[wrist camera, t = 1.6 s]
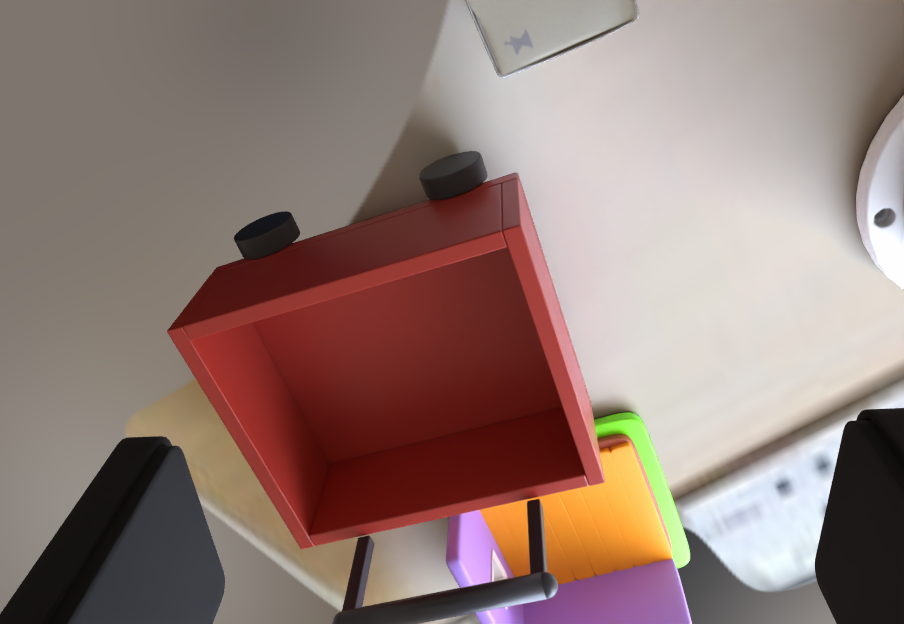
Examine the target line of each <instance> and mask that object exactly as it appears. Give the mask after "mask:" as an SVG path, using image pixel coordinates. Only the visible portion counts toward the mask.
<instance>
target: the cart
mask: <svg viewBox="0 0 904 624" xmlns="http://www.w3.org/2000/svg"><path fill="white" fill-rule="evenodd" d="M419 178H420V181H421V183H422V186H423V188H424V191H425V194H426V196H427V197H428V198H429V199H431V200H427V201H424V202H421V203H418V204H415V205H412V206H409V207H405V208H402V209H399V210H396V211H393V212H390V213H386V214H383V215H380V216H377V217H374V218H371V219H368V220H364V221H361V222H358V223H355V224H352V225H349V226H345V227H343V228H339V229H336V230H333V231H330V232H326V233H324V234H320V235H317V236H314V237H311V238H308V239H305V240H302V241H298V242H295V243H292V242H294V241H295V240H296V239H297V238H298V236H299V235H300V231H299V229H298V227H297V225H296V222H295V221H294V218H293V216H292V214H291V213H290V212H278V213H274V214H271V215H268V216H265V217H263V218H260V219H258V220H256V221H254V222H252V223H250V224H249V225H247V226H245V227H244V228H242V229H241V230H240V231H239V232H238V233H237V234H236V235H235V237H234V240H235V242H236V244H237V246H238V248H239V250H240V252H241V254H242V255H243V257H244V259H241V260H238V261H235V262H232V263H229V264H226V265H222V266H219V267H217V268H216V269H215V270H214V272H213V273H212V275H210V276H209V278H208V279H207V280H206V282H205V283H204V284H203V285H202V287H201V288H200V289H199V291H198V292H197V293H196V294H195V296H194V297H193V299H192V300H191V301H190V302H189V304H188V305H187V306H186V307H185V309H184V310H183V311H182V313H181V314H180V315H179V316H178V318H177V319H176V320H175V322H174V323H173V324H172V325H171V327H170V328H169V329H168V331H167V332H168V334H169V335H170V337H171V339H172V340H173V342H174V344H175V345H176V347H177V349H178V350H179V352H180V353H181V355H182V356H183V358H184V360H185V362H186V363H187V365H188V366H189V368H190V370H191V371H192V373H193V374H194V376H195V378H196V379H197V381H198V383H199V384H200V386H201V388H202V389H203V391H204V392H205V394H206V396H207V397H208V399H209V401H210V402H211V404H212V405H213V407H214V409H215V410H216V412H217V413H218V415H219V417H220V418H221V420H222V422H223V423H224V425H225V426H226V428H227V430H228V431H229V433H230V435H231V436H232V438H233V439H234V441H235V443H236V444H237V446H238V448H239V449H240V451H241V452H242V454H243V456H244V457H245V459H246V461H247V462H248V464H249V465H250V467H251V469H252V470H253V472H254V474H255V475H256V477H257V478H258V480H259V482H260V483H261V485H262V487H263V488H264V490H265V491H266V493H267V495H268V496H269V498H270V499H271V501H272V503H273V504H274V506H275V508H276V509H277V511H278V512H279V514H280V516H281V517H282V519H283V521H284V522H285V524H286V525H287V527H288V529H289V530H290V532H291V534H292V535H293V537H294V538H295V540H296V542H297V543H298V545H299V547H300V548H301V549H304V548H309V547H313V546H314V545H315V546H317V545H321V544H326V543H331V542H335V541H340V540H344V539H349V538H353V537H358V536H363V535H367V534H372V533H376V532H381V531H385V530H390V529H395V528H399V527H404V526H408V525H413V524H417V523H422V522H427V521H431V520H436V519H440V518H445V517H449V516H454V515H459V514H463V513H468V512H472V511H477V510H481V509H486V508H491V507H495V506H500V505H504V504H509V503H513V502H518V501H523V500H527V499H532V498H536V497H541V496H545V495H550V494H555V493H559V492H564V491H568V490H573V489H577V488H582V487H587V486H588V485H590V486H592V485H597V484H601V483H605V478H604V472H603V467H602V461H601V456H600V450H599V445H598V439H597V434H596V428H595V423H594V417H593V412H592V407H591V401H590V398H589V395H588V392H587V389H586V386H585V383H584V379H583V376H582V373H581V370H580V367H579V364H578V361H577V357H576V354H575V351H574V348H573V345H572V342H571V339H570V336H569V332H568V329H567V326H566V323H565V320H564V317H563V314H562V310H561V307H560V304H559V301H558V298H557V295H556V292H555V288H554V285H553V282H552V279H551V276H550V273H549V270H548V267H547V263H546V260H545V257H544V254H543V251H542V248H541V245H540V241H539V238H538V235H537V232H536V229H535V226H534V223H533V219H532V216H531V213H530V210H529V207H528V204H527V201H526V198H525V194H524V191H523V188H522V185H521V182H520V179H519V176H518V173H513V174H510V175H506V176H503V177H500V178H497V179H494V180H491V181H487V182H484V181H485V180H486V178H487V171H486V168H485V165H484V162H483V159H482V156H481V154H480V153H479V152H475V151H469V152H462V153H457V154H454V155H451V156H448V157H445V158H443V159H440V160H438V161H436V162H434V163H433V164H431V165H429V166H428V167H426V168H425V169H424V170H423V171H422V172H421V173H420V176H419ZM483 182H484V183H483ZM291 243H292V244H291ZM527 517H528V539H529V561H530V574H528V575H523V576H518V577H513V578H508V579H503V580H498V581H492V582H487V583H482V584H477V585H472V586H467V587H462V588H457V589H452V590H447V591H442V592H436V593H431V594H426V595H421V596H416V597H411V598H406V599H401V600H396V601H391V602H386V603H380V604H375V605H370V606H365V607H362V604H363V599H364V594H365V589H366V584H367V579H368V574H369V569H370V563H371V558H372V553H373V548H374V542H373V541H372V539H371V537H370V536H365V537H360V538H358V542H357V546H356V551H355V555H354V560H353V564H352V569H351V573H350V578H349V582H348V587H347V591H346V596H345V600H344V605H343V609H342V611H341V612H339V613H338V614H337V615H336V616H335V617H334V619H333V623H332V624H419V623H424V622H429V621H435V620H440V619H445V618H451V617H456V616H461V615H467V614H472V613H477V612H482V611H488V610H493V609H498V608H504V607H509V606H514V605H520V604H525V603H530V602H536V601H541V600H546V599H550V598H552V597H553V596H554V595H555V594H556V592H557V590H558V582H557V580H556V578H555V576H554V575H552V574H551V573H549V572H548V568H547V554H546V541H545V527H544V513H543V506H542V503H541V501H540V499H535V500H530V501H527Z"/></svg>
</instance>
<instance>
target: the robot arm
mask: <svg viewBox="0 0 904 624" xmlns="http://www.w3.org/2000/svg"><path fill="white" fill-rule="evenodd" d="M856 210H857V223H858V227H859V230H860V234H861V237H862V241H863V244H864V246H865V247H866V249H867V251H868V253H869V254H870V256H871V258H872V260H873V261H874V263H875V264H876V265H877V266H878V267H879V268H880V269H881V270H882V271H883V272H884V273H885V274H886V275H887V277H888V278H889V279H891V280H892V281H893V282H894V283H896V284H897V285H898V286H899V287H901V288H902V289H903V290H904V95H903V97H902V98H901V99H900V100H899V102H898V103H897V104H896V105H895V106H894V108H893V109H892V110H891V111H890V113H889V114H888V115H887V116H886V118H885V120H884V122H883V123H882V125H881V127H880V128H879V130H878V132H877V133H876V135H875V137H874V139H873V140H872V142H871V144H870V147H869V149H868V152H867V155H866V157H865V160H864V163H863V165H862V168H861V171H860V176H859V182H858V188H857V194H856ZM878 211H879V213H877V212H878ZM815 572H816V578H817V581H818V585H819V587H820V589H821V592H822V594H823V596H824V598H825V600H826V602H827V604H828V606H829V608H830V610H831V613H832V615H833V617H834V619H835V621H836V623H837V624H904V408H895V409H869V410H863V411H861V413H860V414H859V415H858V417H857V420H856V421H849V422H847V424H846V425H845V427H844V431H843V435H842V440H841V444H840V449H839V453H838V458H837V462H836V467H835V472H834V476H833V481H832V485H831V490H830V494H829V499H828V504H827V508H826V513H825V517H824V522H823V526H822V531H821V535H820V540H819V545H818V549H817V554H816V558H815ZM224 586H225V578H224V572H223V569H222V566H221V563H220V560H219V557H218V554H217V551H216V548H215V545H214V542H213V539H212V536H211V533H210V531H209V527H208V525H207V522H206V519H205V516H204V513H203V510H202V507H201V504H200V501H199V498H198V495H197V492H196V489H195V486H194V483H193V480H192V477H191V474H190V471H189V468H188V465H187V462H186V460H185V457H184V454H183V452H182V449H181V448H180V447H179V446H172V445H171V442H170V441H169V440H168V439H167V438H166V437H162V436H158V437H132V438H125V439H122V440H121V441H120V442H119V444H118V445H117V446H116V448H115V449H114V451H113V452H112V453H111V455H110V456H109V458H108V459H107V460H106V462H105V464H104V465H103V466H102V468H101V469H100V471H99V472H98V474H97V475H96V477H95V478H94V479H93V481H92V482H91V484H90V485H89V487H88V488H87V489H86V491H85V492H84V494H83V495H82V497H81V498H80V500H79V501H78V502H77V504H76V505H75V507H74V508H73V510H72V511H71V513H70V514H69V515H68V517H67V518H66V520H65V521H64V523H63V524H62V526H61V527H60V528H59V530H58V531H57V533H56V534H55V536H54V537H53V539H52V540H51V541H50V543H49V544H48V546H47V547H46V549H45V550H44V552H43V553H42V555H41V556H40V558H39V559H38V560H37V562H36V563H35V565H34V566H33V568H32V569H31V570H30V572H29V574H28V575H27V576H26V578H25V579H24V581H23V582H22V584H21V585H20V586H19V588H18V589H17V591H16V592H15V594H14V595H13V597H12V598H11V599H10V601H9V602H8V604H7V605H6V607H5V608H4V609H3V611H2V612H1V614H0V624H212V623H213V621H214V618H215V616H216V613H217V611H218V608H219V606H220V603H221V600H222V597H223V593H224Z"/></svg>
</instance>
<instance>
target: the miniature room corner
mask: <svg viewBox="0 0 904 624" xmlns="http://www.w3.org/2000/svg"><path fill="white" fill-rule="evenodd" d="M594 423H595V428H596V434H597V439H598V445H599V450H600V456H601V461H602V467H603V472H604V478H605V483H601V484H597V485H592V486H590V485H588V486H587V487H582V488H577V489H573V490H568V491H564V492H559V493H555V494H550V495H545V496H541V497H536V498H532V499H527V500H523V501H518V502H513V503H509V504H504V505H500V506H495V507H491V508H486V509H481V510H477V511H472V512H468V513H463V514H459V515H454V516H449V526H448V538H447V550H446V563H447V566H448V568H449V569H450V571H451V573H452V575H453V576H454V578H455V580H456V582H457V583H458V585H459V587H460V588H462V587H467V586H472V585H477V584H482V583H487V582H492V581H498V580H503V579H508V578H513V577H518V576H523V575H528V574H530V561H529V539H528V517H527V501H530V500H535V499H540V501H541V503H542V506H543V513H544V527H545V541H546V554H547V568H548V572H549V573H551V574H552V575H554V576H555V578H556V580H557V582H558V590H557V592H556V594H555V595H554V596H553V597H552V598H550V599H546V600H541V601H536V602H530V603H525V604H520V605H514V606H509V607H504V608H498V609H493V610H488V611H482V612H477V613H475V614H476V616H477V618H478V620H479V621H480V623H481V624H692V622H691V618H690V614H689V610H688V607H687V603H686V599H685V595H684V591H683V588H682V584H681V581H680V577H679V574H678V571H677V569H678V568H680V567H682V566H684V565H686V564H687V563H688V562H689V560H690V551H689V546H688V543H687V539H686V536H685V533H684V530H683V527H682V524H681V521H680V518H679V515H678V512H677V509H676V507H675V504H674V501H673V498H672V495H671V492H670V490H669V487H668V484H667V481H666V479H665V476H664V473H663V470H662V468H661V465H660V462H659V460H658V457H657V454H656V452H655V449H654V447H653V444H652V441H651V439H650V436H649V434H648V432H647V429H646V427H645V425H644V423H643V421H642V420H641V419H640V417H639V416H638V415H636V414H634V413H630V412H626V413H618V414H614V415H609V416H606V417H602V418H598V419H594Z"/></svg>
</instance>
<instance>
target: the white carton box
mask: <svg viewBox="0 0 904 624" xmlns="http://www.w3.org/2000/svg"><path fill="white" fill-rule="evenodd" d="M466 3H467V5H468V8H469V10H470V13H471V15H472V17H473V20H474V22H475V25H476V27H477V29H478V32H479V34H480V36H481V39H482V41H483V43H484V46H485V48H486V50H487V53H488V55H489V57H490V59H491V61H492V64H493V66H494V68H495V71H496V73H497V75H498V76H499V77H501V78H504V77H507V76H510V75H512V74H515V73H518V72H520V71H523V70H526V69H528V68H531V67H533V66H536V65H538V64H541V63H543V62H546V61H548V60H551V59H553V58H556V57H558V56H561V55H563V54H566V53H568V52H570V51H573V50H575V49H577V48H580V47H582V46H584V45H587V44H589V43H591V42H594V41H596V40H598V39H600V38H602V37H604V36H607V35H609V34H611V33H613V32H615V31H617V30H619V29H621V28H623V27H625V26H627V25H630V24H631V23H633V22H635V21H636V20H637V19H638V17H639V11H638V7H637V2H636V0H466Z"/></svg>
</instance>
